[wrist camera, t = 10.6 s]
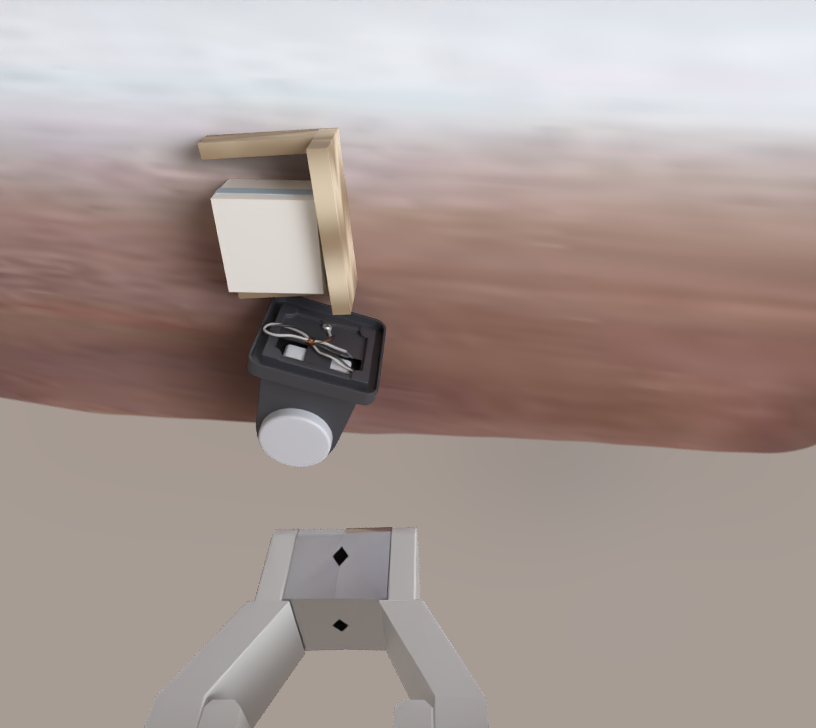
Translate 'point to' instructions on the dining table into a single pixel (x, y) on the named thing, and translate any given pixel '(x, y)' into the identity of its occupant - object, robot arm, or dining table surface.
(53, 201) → the dining table surface
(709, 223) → the dining table surface
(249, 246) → the carton
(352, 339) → the light fixture
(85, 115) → the dining table surface
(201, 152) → the stand
